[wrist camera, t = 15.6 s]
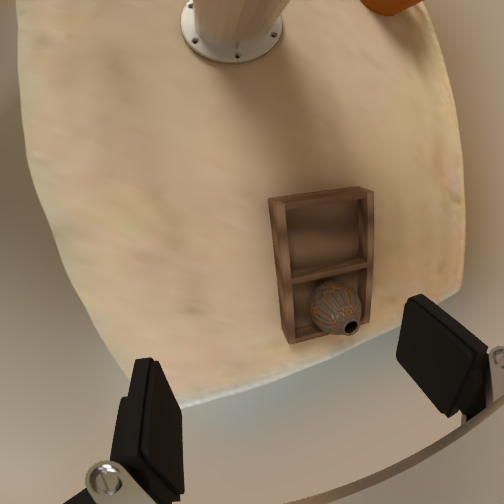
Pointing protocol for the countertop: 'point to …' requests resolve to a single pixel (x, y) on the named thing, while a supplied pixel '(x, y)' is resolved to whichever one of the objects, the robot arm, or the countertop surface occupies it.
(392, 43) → the countertop surface
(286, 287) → the divided wooden tray
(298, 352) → the countertop surface
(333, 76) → the countertop surface
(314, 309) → the vase
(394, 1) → the mug
